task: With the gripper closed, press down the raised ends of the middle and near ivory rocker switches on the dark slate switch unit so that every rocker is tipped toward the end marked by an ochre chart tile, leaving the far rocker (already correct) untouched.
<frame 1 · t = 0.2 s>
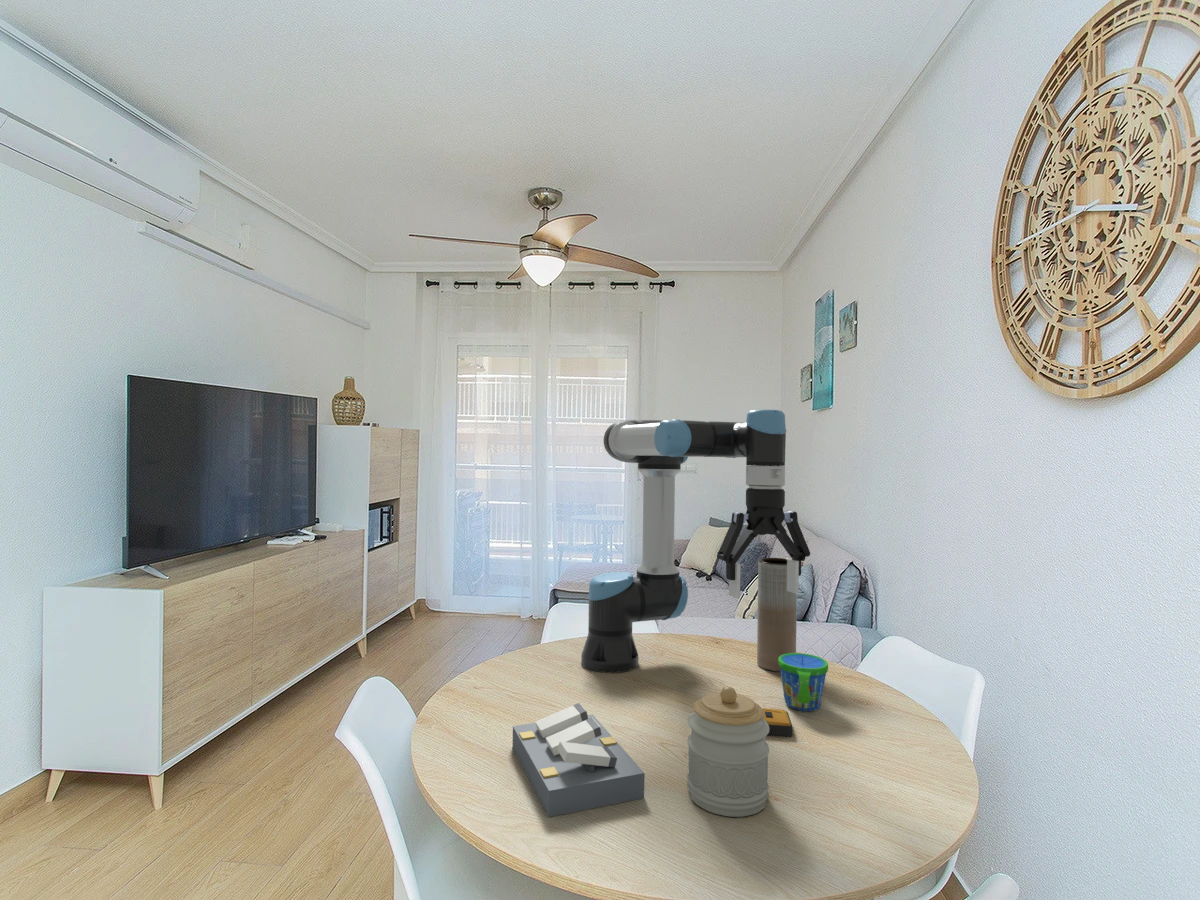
hand: (764, 594, 124), 28 cm above the table, fingers open, 13 cm apart
rocker near: (587, 754, 102), point 6 cm above the table, hinge at -15.0°
rocker far: (561, 720, 115), point 6 cm above the table, hinge at 15.0°
rocker mid: (573, 736, 109), point 6 cm above the table, hinge at 15.0°
jar: (727, 797, 101), on the table
electronic device: (750, 729, 128), on the table
switch unit: (573, 770, 109), on the table
vase: (776, 666, 165), on the table
snack cup: (802, 706, 139), on the table
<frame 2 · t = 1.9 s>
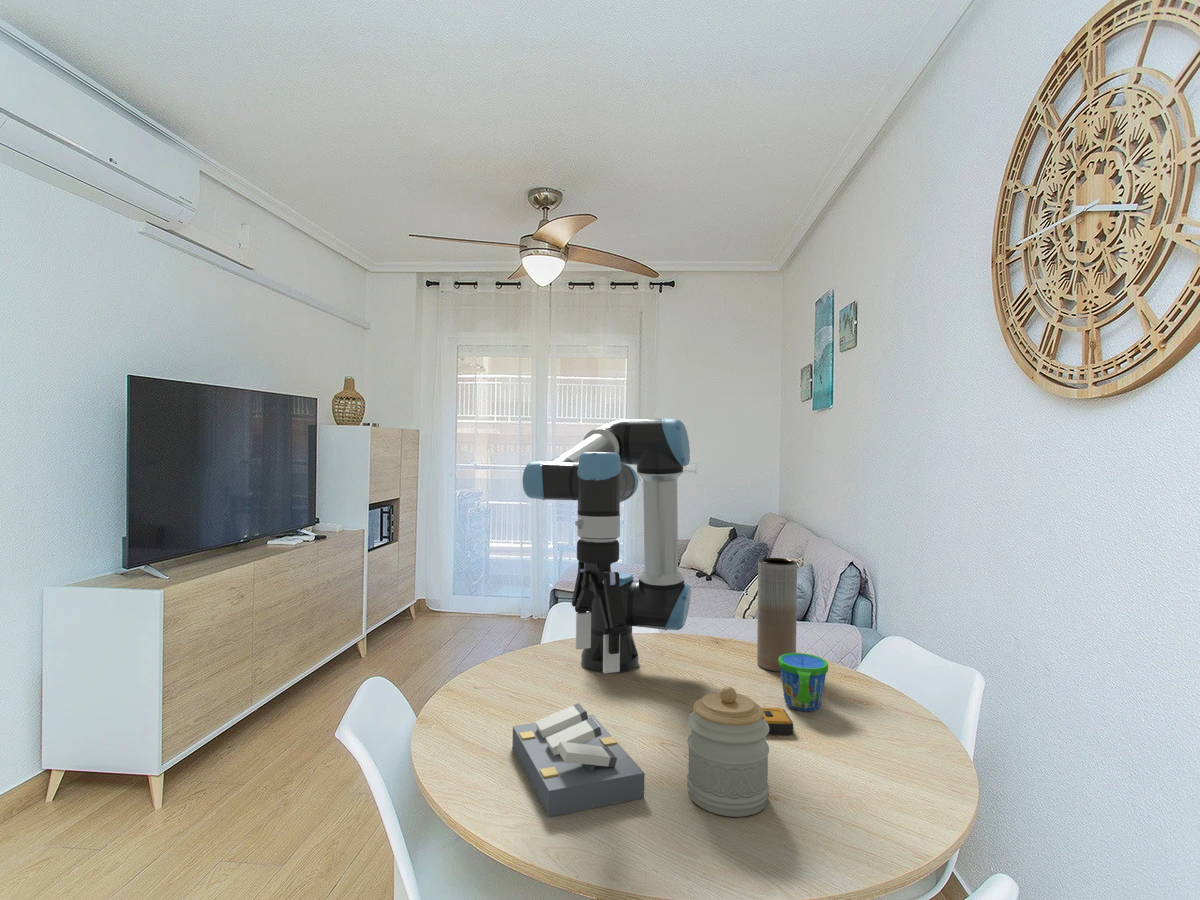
hand: (596, 659, 110), 19 cm above the table, fingers open, 13 cm apart
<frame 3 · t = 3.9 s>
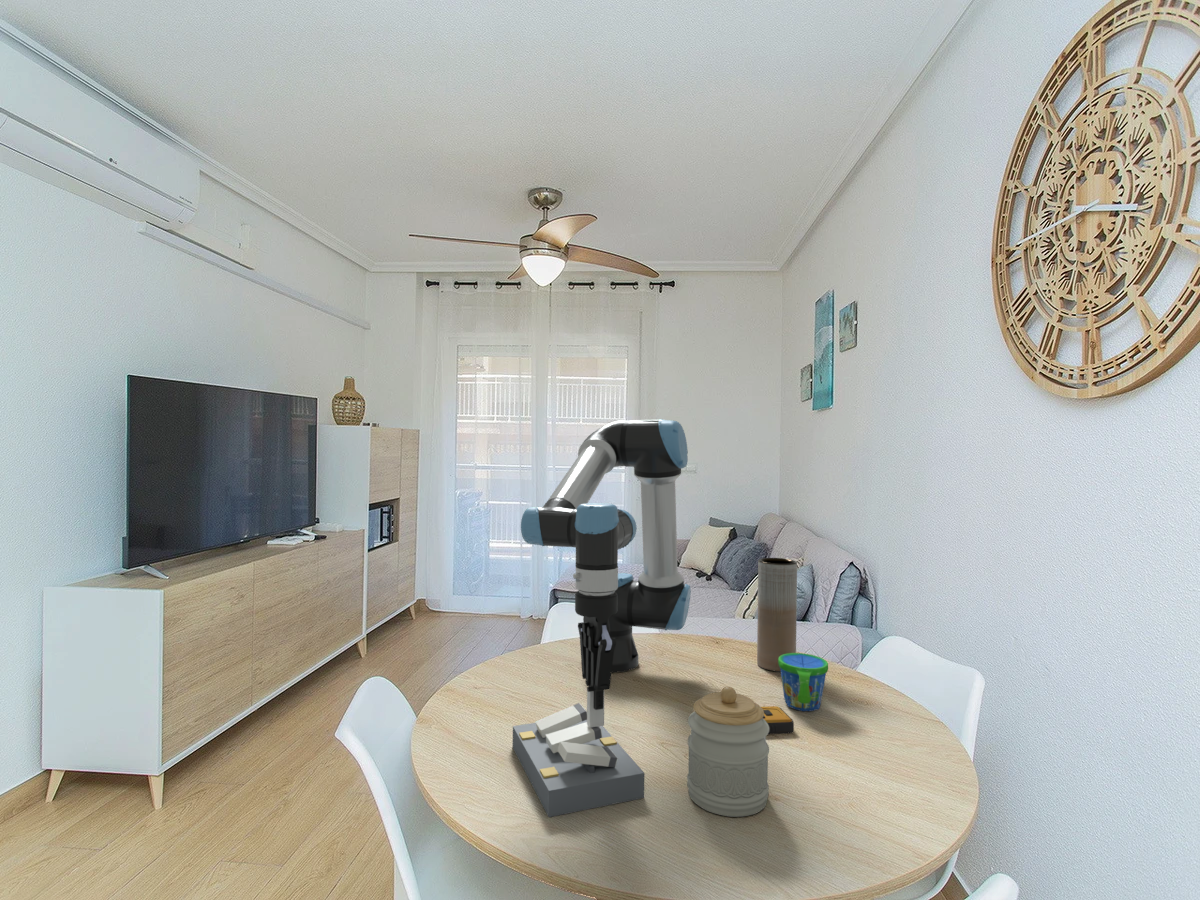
hand: (595, 724, 110), 7 cm above the table, fingers closed
rocker mid: (573, 736, 109), point 6 cm above the table, hinge at 8.5°, touching gripper
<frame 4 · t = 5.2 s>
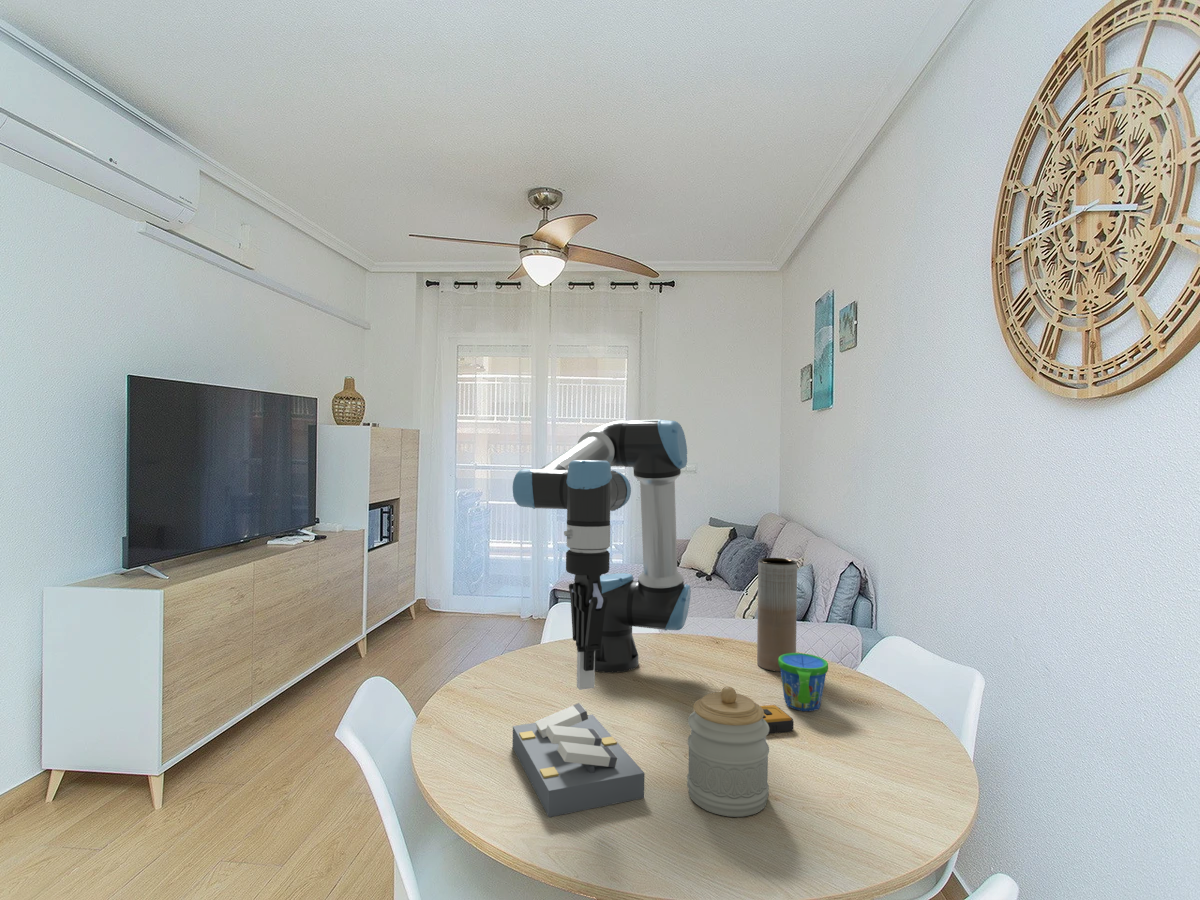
hand: (585, 687, 107), 15 cm above the table, fingers closed
rocker mid: (573, 736, 109), point 6 cm above the table, hinge at -13.5°
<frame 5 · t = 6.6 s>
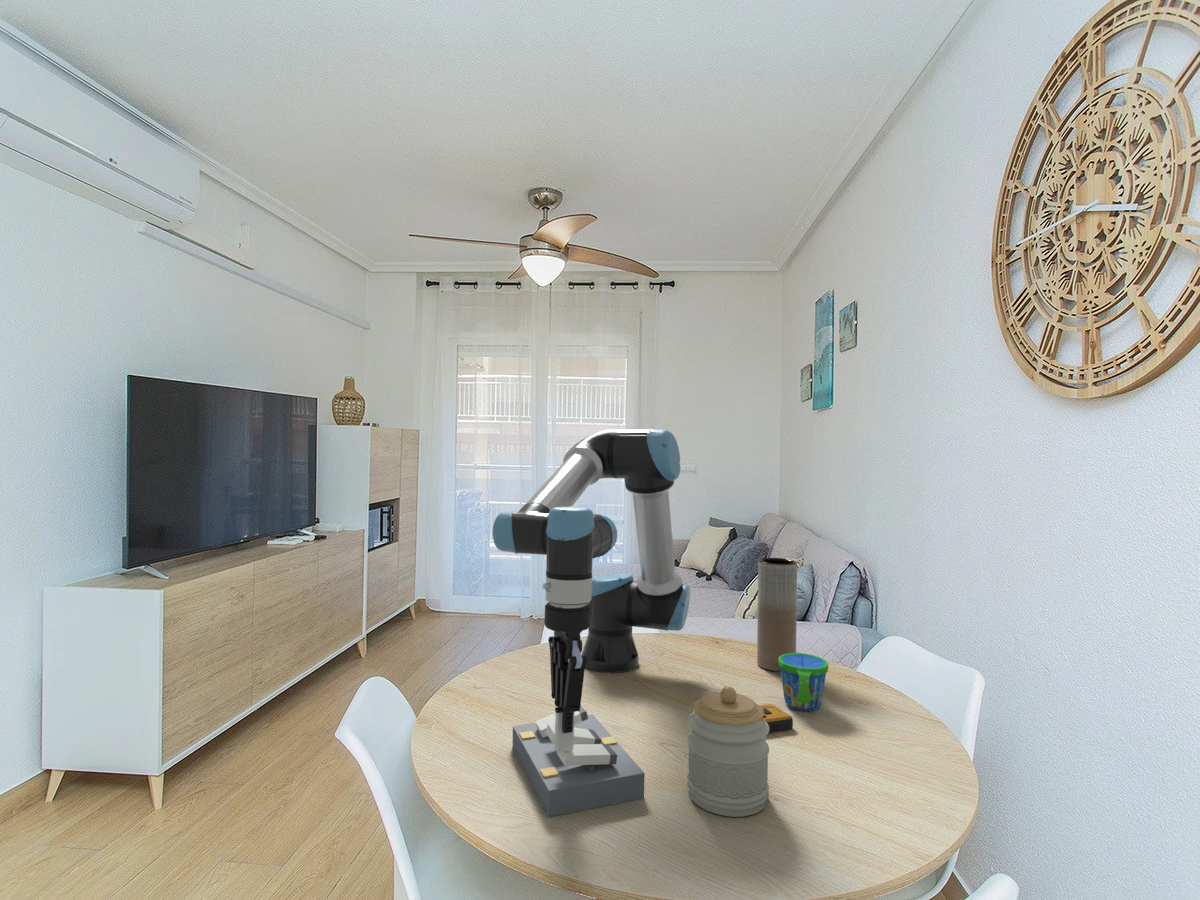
hand: (563, 749, 101), 7 cm above the table, fingers closed
rocker near: (587, 754, 102), point 6 cm above the table, hinge at -7.8°, touching gripper
rocker mid: (573, 736, 109), point 6 cm above the table, hinge at -14.9°
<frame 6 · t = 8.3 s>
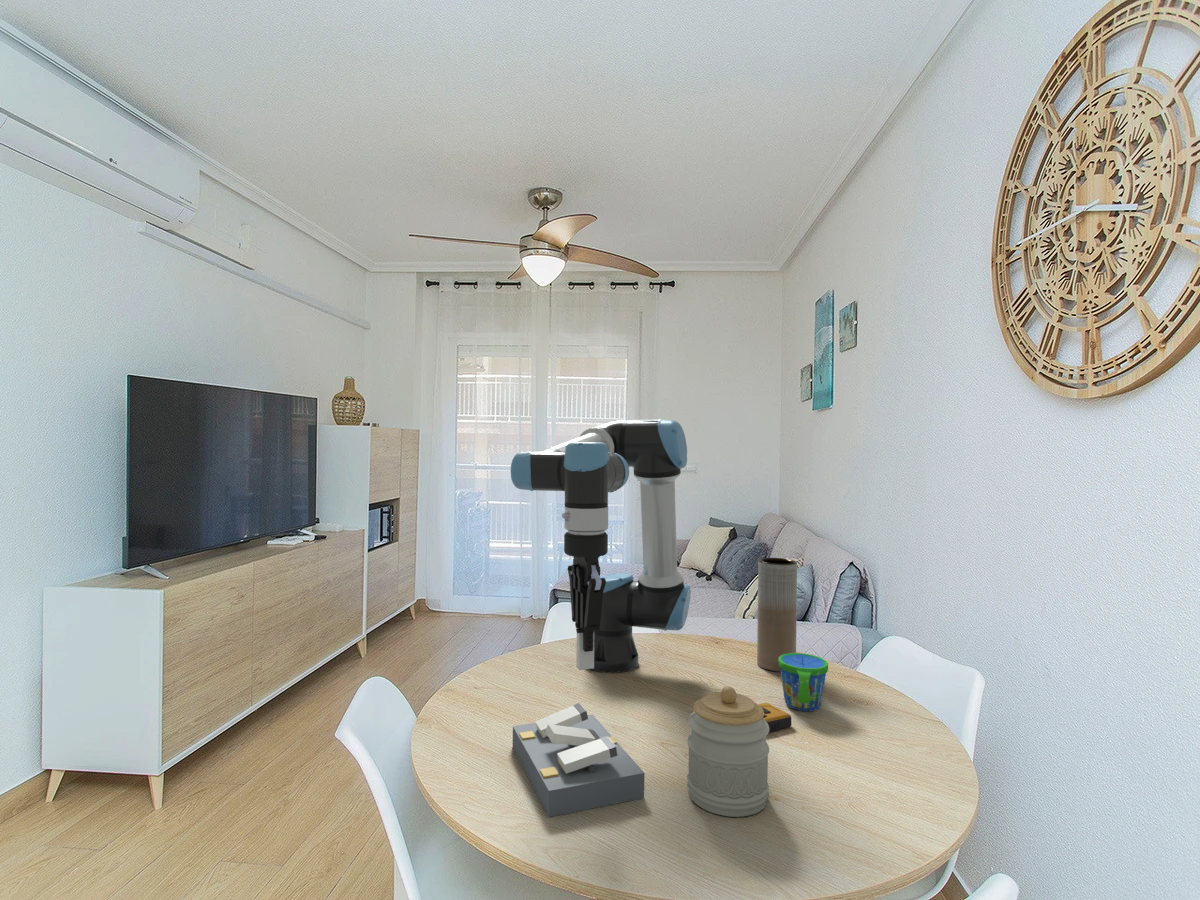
hand: (585, 667, 108), 18 cm above the table, fingers closed
rocker near: (587, 754, 102), point 6 cm above the table, hinge at 9.5°
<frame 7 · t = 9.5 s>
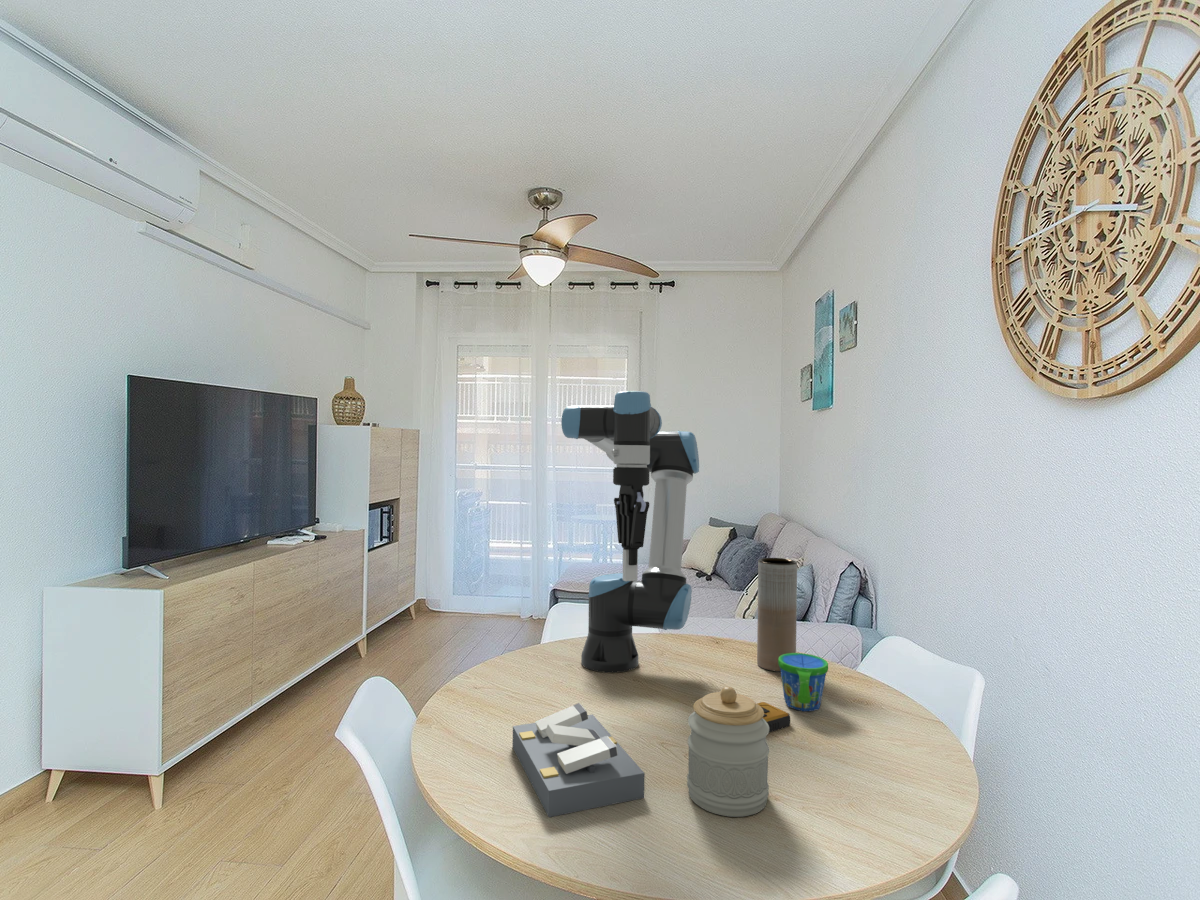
hand: (629, 580, 129), 29 cm above the table, fingers closed
rocker near: (587, 754, 102), point 6 cm above the table, hinge at 10.0°
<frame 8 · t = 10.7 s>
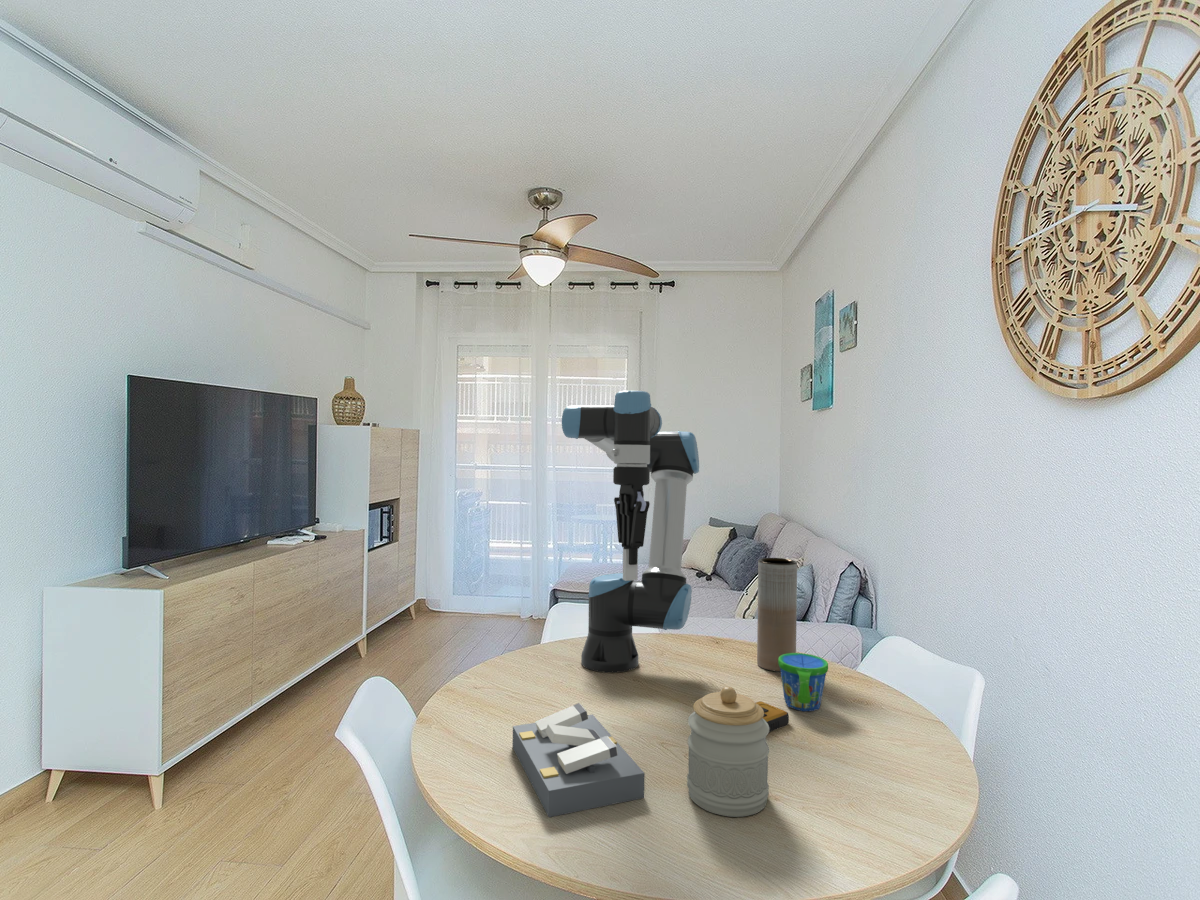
hand: (630, 579, 129), 29 cm above the table, fingers closed
at the end: rocker mid at -15° (first picture: +15°); rocker near at +10° (first picture: -15°); rocker far at +15° (first picture: +15°) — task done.
